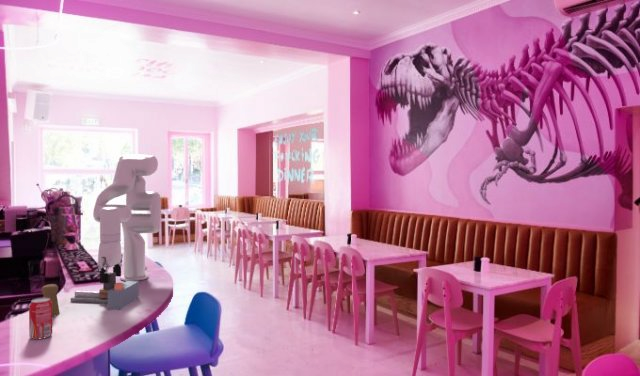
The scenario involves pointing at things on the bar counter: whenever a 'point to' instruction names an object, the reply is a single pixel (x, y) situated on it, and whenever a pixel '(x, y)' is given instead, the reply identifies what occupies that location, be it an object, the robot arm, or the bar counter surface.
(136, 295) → the cabinet
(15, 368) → the bar counter surface
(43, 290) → the cork
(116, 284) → the button
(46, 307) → the beverage can
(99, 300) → the rail
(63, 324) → the bar counter surface
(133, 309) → the bar counter surface
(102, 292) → the carriage
